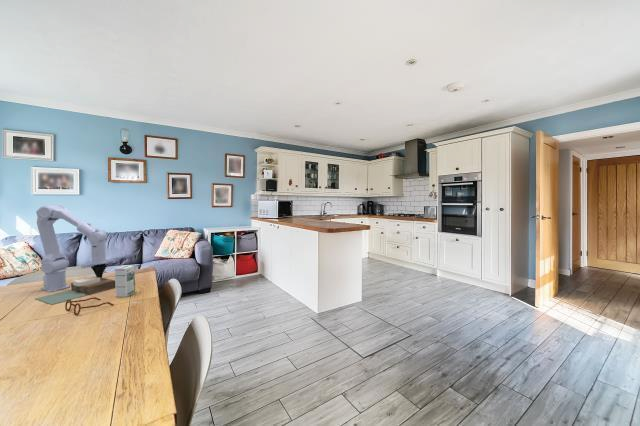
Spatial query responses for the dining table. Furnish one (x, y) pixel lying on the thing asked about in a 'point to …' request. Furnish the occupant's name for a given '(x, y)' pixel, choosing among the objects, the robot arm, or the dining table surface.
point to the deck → (94, 286)
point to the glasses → (82, 307)
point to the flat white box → (86, 281)
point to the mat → (60, 297)
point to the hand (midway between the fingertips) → (99, 278)
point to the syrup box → (124, 281)
